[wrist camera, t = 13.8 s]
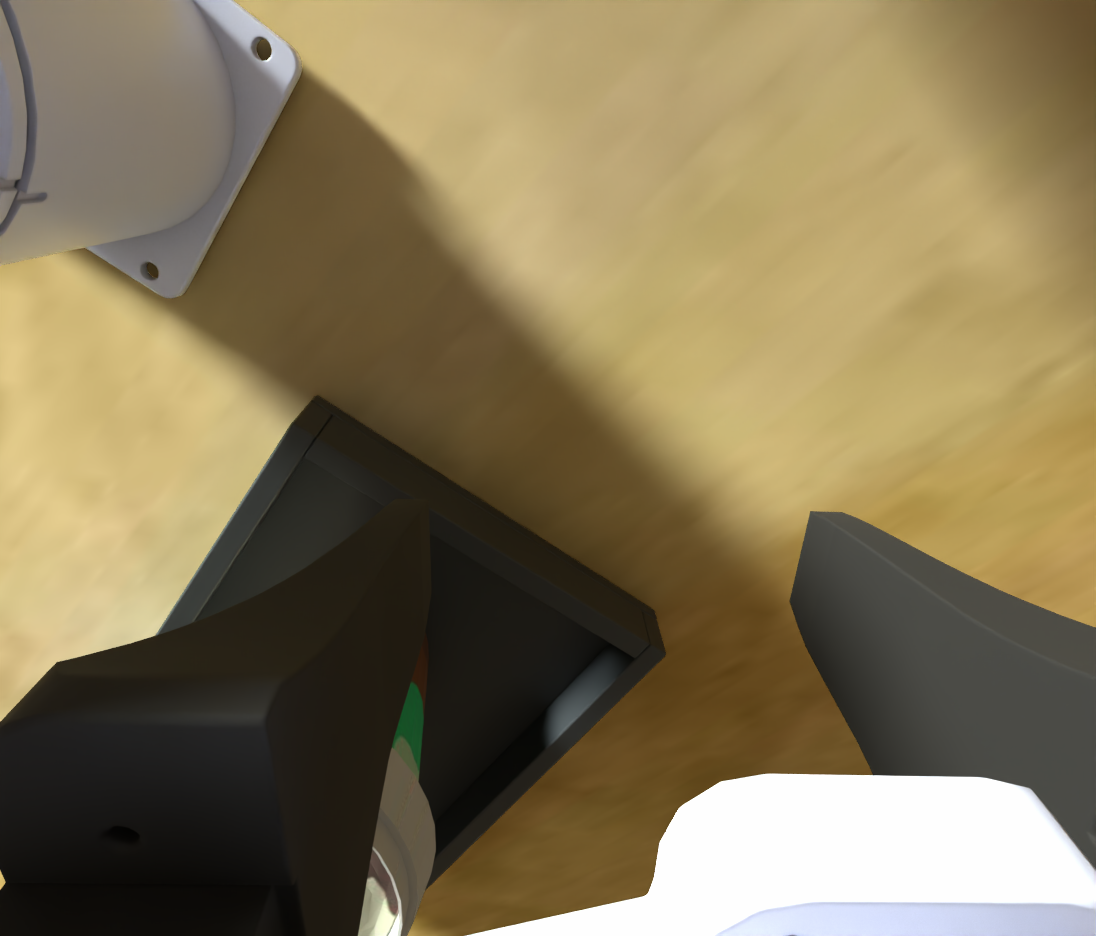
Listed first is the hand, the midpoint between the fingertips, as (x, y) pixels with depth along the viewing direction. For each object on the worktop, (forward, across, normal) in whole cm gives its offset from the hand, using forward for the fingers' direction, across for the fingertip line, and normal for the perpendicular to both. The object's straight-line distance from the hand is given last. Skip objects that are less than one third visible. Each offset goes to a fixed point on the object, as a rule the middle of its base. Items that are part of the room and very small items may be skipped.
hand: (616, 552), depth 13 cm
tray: (+10, +8, +12) cm, 18 cm away
